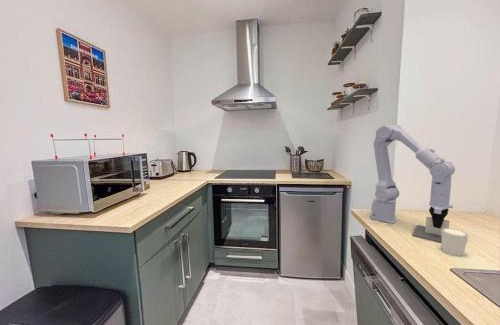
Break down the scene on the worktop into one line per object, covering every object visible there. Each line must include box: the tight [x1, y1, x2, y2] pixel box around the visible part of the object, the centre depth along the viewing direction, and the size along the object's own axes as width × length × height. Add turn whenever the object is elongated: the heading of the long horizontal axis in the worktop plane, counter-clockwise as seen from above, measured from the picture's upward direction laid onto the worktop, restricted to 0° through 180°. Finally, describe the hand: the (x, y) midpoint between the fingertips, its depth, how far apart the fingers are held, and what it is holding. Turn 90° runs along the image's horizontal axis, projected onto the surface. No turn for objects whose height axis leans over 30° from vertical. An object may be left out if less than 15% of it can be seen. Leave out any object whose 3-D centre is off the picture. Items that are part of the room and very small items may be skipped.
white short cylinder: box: [441, 227, 469, 257], centre depth 77 cm, size 7×7×7 cm
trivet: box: [411, 224, 442, 244], centre depth 89 cm, size 13×13×1 cm
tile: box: [425, 216, 451, 236], centre depth 89 cm, size 7×2×6 cm, turn 47°
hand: (437, 226), depth 89 cm, fingers closed on tile, 2 cm apart
